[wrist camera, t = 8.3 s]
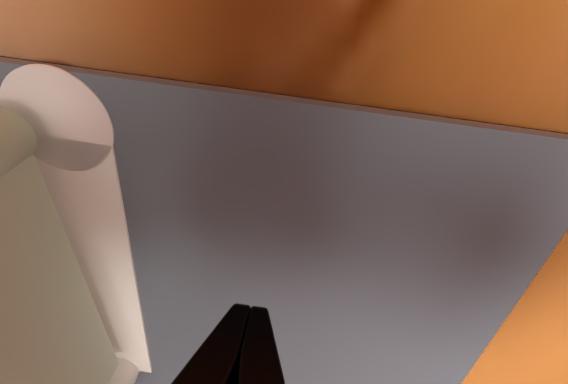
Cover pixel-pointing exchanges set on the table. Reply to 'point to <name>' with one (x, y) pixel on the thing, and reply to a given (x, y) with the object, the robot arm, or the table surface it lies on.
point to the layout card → (290, 221)
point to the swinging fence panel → (42, 279)
